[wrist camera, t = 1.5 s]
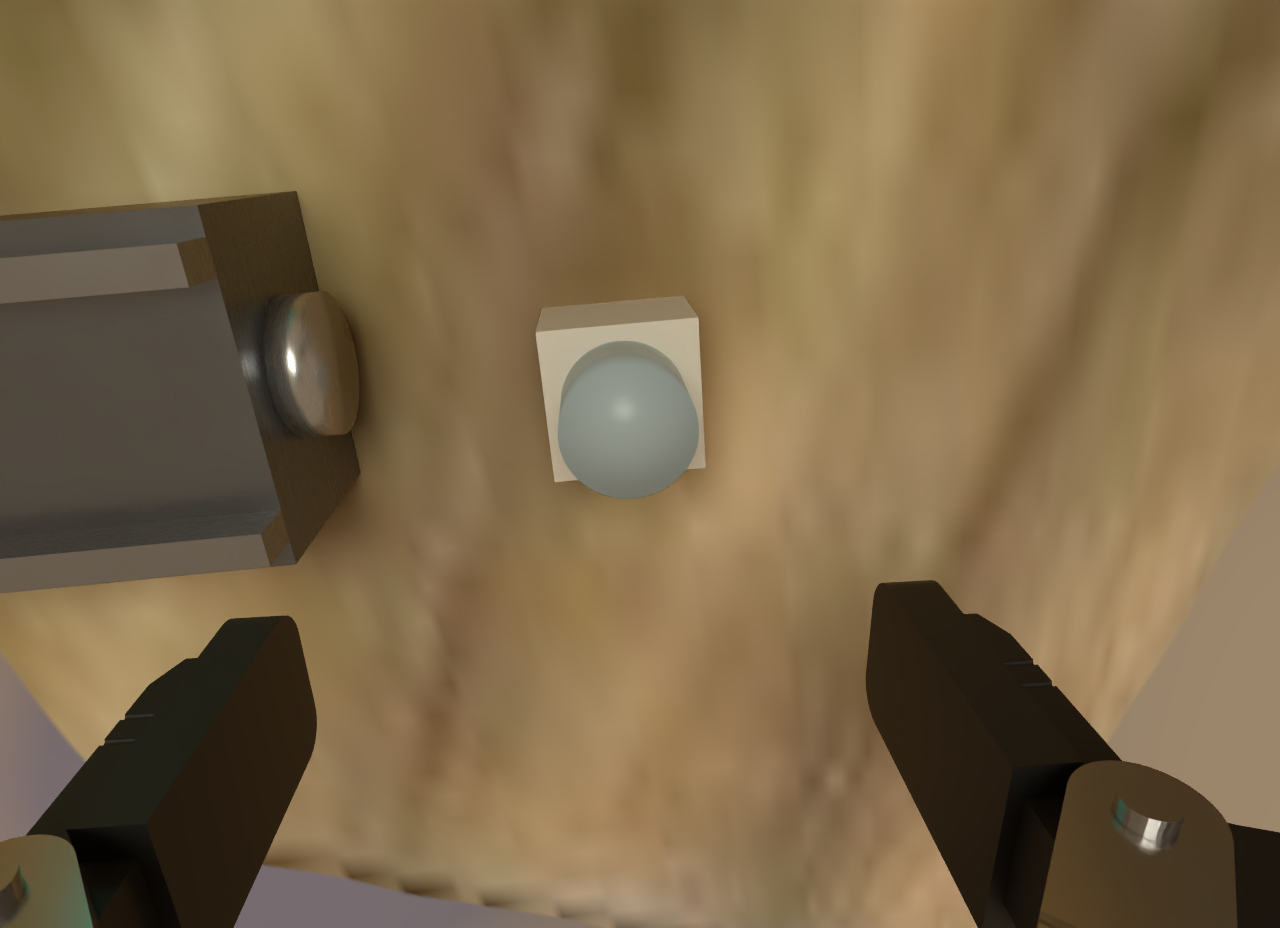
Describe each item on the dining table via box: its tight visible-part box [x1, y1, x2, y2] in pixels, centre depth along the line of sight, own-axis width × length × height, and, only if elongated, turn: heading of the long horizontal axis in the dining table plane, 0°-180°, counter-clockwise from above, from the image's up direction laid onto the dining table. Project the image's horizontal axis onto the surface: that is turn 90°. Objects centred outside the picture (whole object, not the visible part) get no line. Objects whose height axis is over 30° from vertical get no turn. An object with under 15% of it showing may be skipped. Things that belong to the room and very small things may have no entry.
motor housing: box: [0, 191, 360, 593], centre depth 23 cm, size 13×10×8 cm
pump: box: [536, 296, 706, 499], centre depth 25 cm, size 5×5×7 cm
